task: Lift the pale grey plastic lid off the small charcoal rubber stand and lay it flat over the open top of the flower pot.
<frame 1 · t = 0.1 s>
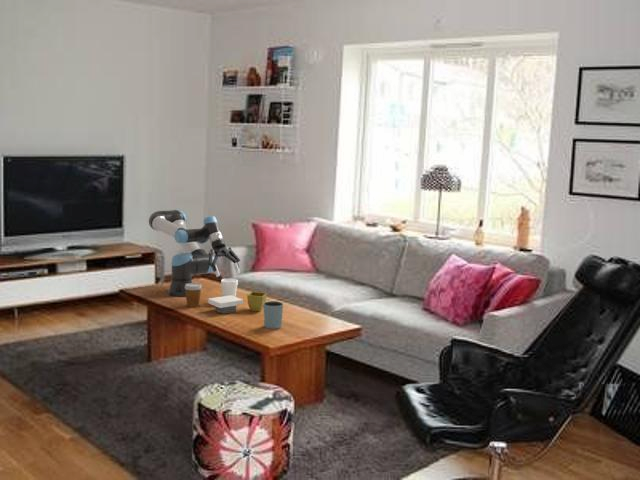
hand: (228, 274, 411), 15 cm above the table, tool tilted 35°, fingers open, 13 cm apart
stand: (225, 310, 393), on the table
disposable coffee cup: (192, 306, 400), on the table
flower pot: (256, 310, 397), on the table
foam cup: (229, 303, 410), on the table
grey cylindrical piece: (272, 326, 367), on the table
lid: (225, 303, 392), point 4 cm above the table, touching stand
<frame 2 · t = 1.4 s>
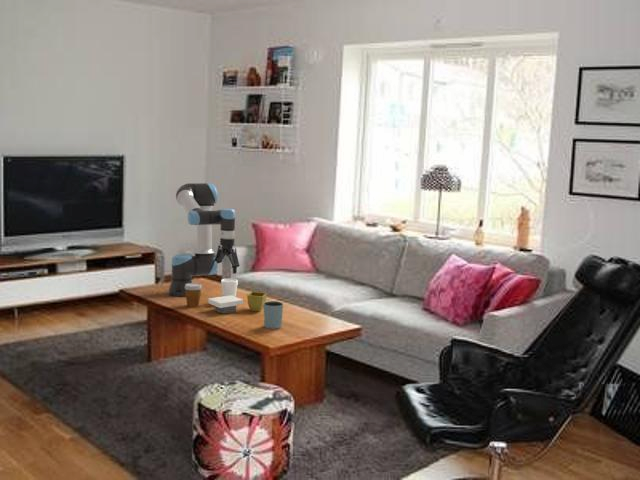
hand: (226, 277, 390), 19 cm above the table, tool pointing down, fingers open, 13 cm apart
nothing on the table moved.
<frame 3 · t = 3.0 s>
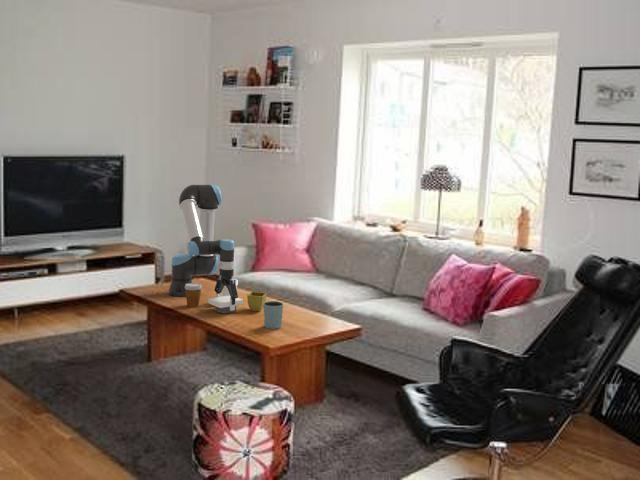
hand: (225, 307, 392), 2 cm above the table, tool pointing down, fingers closed on lid, 12 cm apart
lid: (225, 303, 392), point 4 cm above the table, touching gripper, stand
everything else where it was.
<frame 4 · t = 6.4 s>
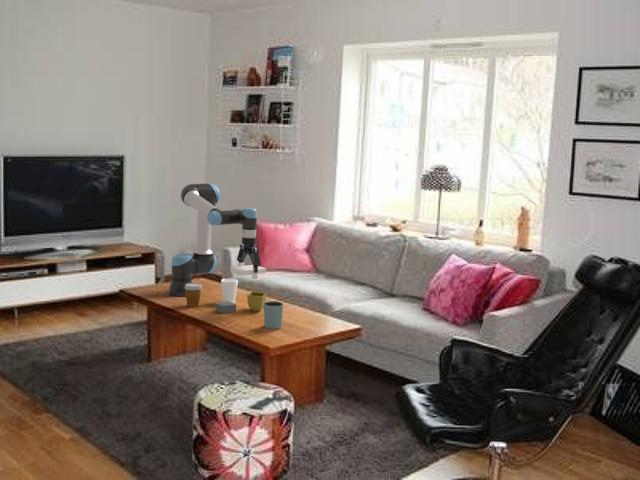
hand: (248, 276, 392), 19 cm above the table, tool pointing down, fingers closed on lid, 12 cm apart
lid: (248, 272, 392), point 21 cm above the table, touching gripper
everything else where it was.
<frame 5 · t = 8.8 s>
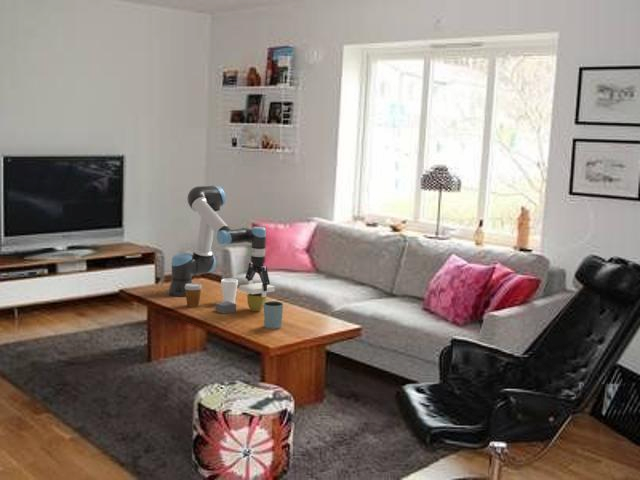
hand: (256, 294, 396), 9 cm above the table, tool pointing down, fingers closed on lid, 12 cm apart
lid: (257, 290, 396), point 11 cm above the table, touching gripper
everything else where it was.
when the fingers open (9 cm above the table, at t = 9.7 s): lid drops 2 cm, resting on flower pot.
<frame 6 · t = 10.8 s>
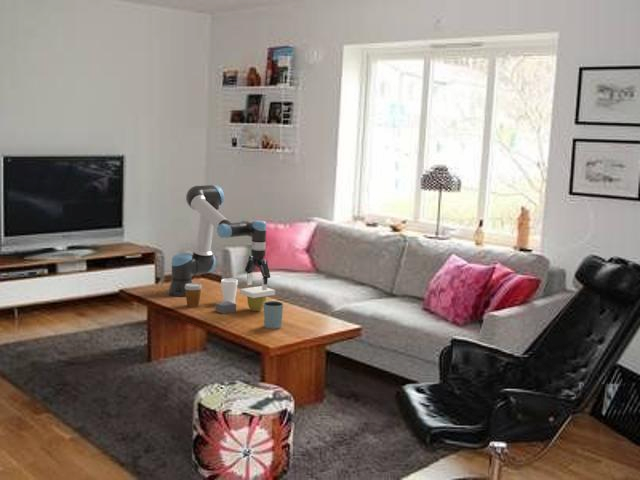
hand: (256, 287, 396), 13 cm above the table, tool pointing down, fingers open, 13 cm apart
flower pot: (256, 310, 397), on the table, touching lid
lid: (257, 294, 396), point 9 cm above the table, touching flower pot
everything else where it was.
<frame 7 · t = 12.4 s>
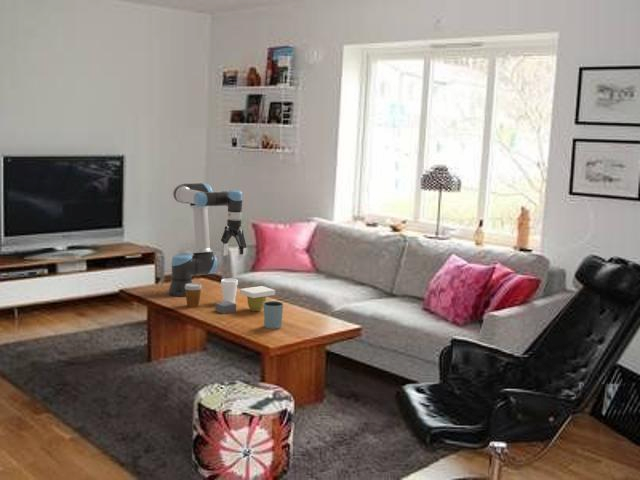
hand: (232, 257, 396), 28 cm above the table, tool pointing down, fingers open, 13 cm apart
nothing on the table moved.
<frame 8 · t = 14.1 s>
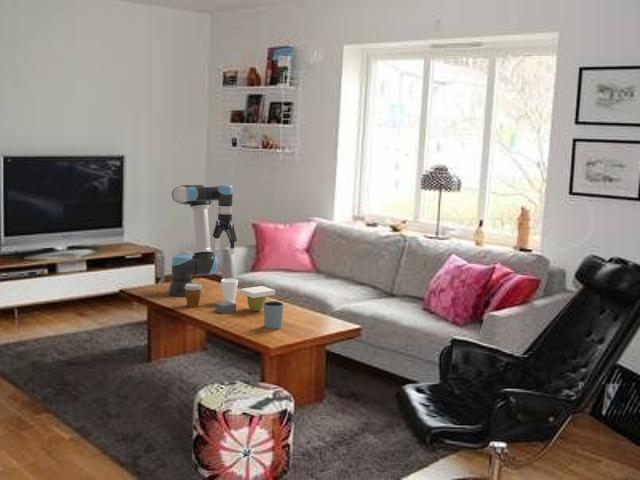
hand: (224, 252, 396), 31 cm above the table, tool pointing down, fingers open, 13 cm apart
nothing on the table moved.
at the end: lid 0.3 cm from the flower pot (horizontally); lid point 8.9 cm above the table; lid tilted 0° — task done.
